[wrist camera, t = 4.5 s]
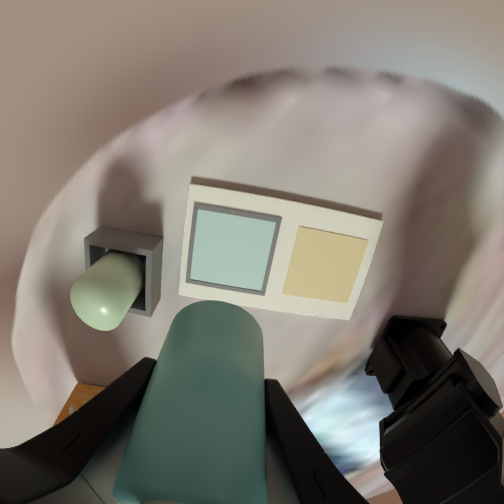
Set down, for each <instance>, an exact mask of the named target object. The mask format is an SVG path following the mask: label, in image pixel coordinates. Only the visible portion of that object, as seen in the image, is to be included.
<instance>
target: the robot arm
mask: <svg viewBox="0 0 504 504" xmlns="http://www.w3.org/2000/svg"><path fill="white" fill-rule="evenodd" d="M395 321H396V322H395ZM394 322H395V323H394ZM441 325H442V326H441ZM446 326H447V323H446V322H445V321H444V320H439V319H427V318H416V317H405V316H393V317H392V318H391V319H390V320H389V322H388V325H387V327H386V329H385V331H384V333H383V335H382V337H381V339H380V341H379V343H378V345H377V347H376V349H375V351H374V353H373V354H372V356H371V358H370V361H369V363H368V365H367V367H366V368H365V372H366V375H368V376H376V377H377V380H378V382H379V384H380V387H381V389H382V391H383V393H384V394H387V395H388V398H389V400H390V402H391V405H392V407H393V410H395V411H394V412H392V413H391V414H390V415H389V416H387V417H386V418H383V419H382V420H381V421H380V422H379V431H380V461H381V466H382V467H383V469H384V471H385V473H384V476H385V477H386V478H387V479H388V480H389V481H390V482H391V483H392V484H393V486H394V487H395V489H396V490H397V492H398V494H399V496H400V498H401V500H402V502H403V504H504V418H503V417H502V415H501V414H500V412H499V410H500V409H501V408H502V407H503V405H502V402H501V399H500V396H499V393H498V390H497V387H496V384H495V381H494V379H493V378H492V377H491V375H490V374H489V373H488V372H487V371H486V369H485V368H484V367H483V366H482V364H481V363H480V362H478V361H477V360H476V359H474V358H473V357H471V356H470V355H468V354H467V353H466V352H464V351H463V350H461V349H460V348H458V349H457V350H456V351H455V352H454V355H452V354H451V352H450V351H449V349H448V348H447V347H446V345H445V344H444V343H443V341H442V340H441V339H440V338H441V336H442V334H443V332H444V330H445V328H446ZM156 362H157V361H156V360H155V359H152V358H148V357H144V358H143V359H142V360H140V361H139V362H138V363H136V364H135V365H134V366H133V367H131V368H130V369H129V370H128V371H126V372H125V373H124V374H122V375H121V376H120V377H119V378H117V379H116V380H115V381H113V382H112V383H111V384H110V385H108V386H107V387H106V388H104V389H103V390H102V391H100V392H99V393H98V394H97V395H95V396H94V397H93V398H91V399H90V400H89V401H88V402H86V403H85V404H84V405H82V406H81V407H80V408H78V410H76V411H74V412H73V413H72V414H70V415H69V416H68V417H66V418H65V419H63V420H62V421H61V422H59V423H58V424H56V425H54V426H53V427H51V428H49V429H48V430H46V431H44V432H42V433H41V434H39V435H37V436H35V437H33V438H32V439H30V440H28V441H26V442H24V443H22V444H20V445H18V446H15V447H11V448H5V449H0V504H117V503H118V501H117V500H116V499H115V498H114V497H113V495H112V489H113V486H114V483H115V480H116V476H117V473H118V470H119V467H120V464H121V461H122V458H123V455H124V452H125V449H126V446H127V443H128V440H129V437H130V434H131V431H132V428H133V425H134V422H135V419H136V416H137V414H138V411H139V408H140V405H141V402H142V400H143V397H144V394H145V391H146V389H147V386H148V383H149V380H150V378H151V375H152V372H153V370H154V367H155V365H156ZM370 370H371V371H370ZM264 383H265V419H266V460H267V504H369V503H368V502H367V501H366V500H365V498H364V497H363V496H362V495H361V494H360V493H359V492H358V491H357V490H356V489H355V488H354V487H353V486H352V485H351V484H350V483H349V482H348V481H347V480H346V478H345V477H344V476H343V475H342V474H341V473H340V472H339V470H338V469H337V468H336V466H335V465H334V464H333V462H332V461H331V460H330V458H329V457H328V455H327V454H326V453H324V452H325V451H324V450H323V448H322V447H321V445H320V444H319V442H318V441H317V439H316V438H315V437H314V435H313V434H312V432H311V431H310V429H309V428H308V426H307V425H306V423H305V422H304V420H303V419H302V417H301V416H300V414H299V413H298V411H297V410H296V408H295V406H294V405H293V403H292V402H291V400H290V399H289V397H288V396H287V394H286V393H285V391H284V390H283V388H282V386H281V385H280V383H279V382H278V380H276V379H268V378H267V379H265V380H264Z"/></svg>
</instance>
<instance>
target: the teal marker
mask: <svg viewBox="0 0 504 504" xmlns="http://www.w3.org/2000/svg"><path fill="white" fill-rule="evenodd" d="M112 495H113V497H114V498H115V499H116V500H117V501H118V502H119V503H120V504H267V460H266V419H265V383H264V350H263V334H262V331H261V328H260V326H259V324H258V323H257V321H256V320H255V319H254V318H253V317H252V315H250V314H249V313H248V312H247V311H245V310H244V309H242V308H240V307H238V306H236V305H234V304H231V303H228V302H223V301H216V300H207V301H200V302H196V303H193V304H190V305H188V306H186V307H185V308H183V309H182V310H181V311H180V312H179V313H178V314H177V315H176V316H175V318H174V319H173V321H172V324H171V326H170V329H169V331H168V334H167V336H166V339H165V341H164V344H163V346H162V349H161V352H160V354H159V357H158V359H157V362H156V365H155V367H154V370H153V372H152V375H151V378H150V380H149V383H148V386H147V389H146V391H145V394H144V397H143V400H142V402H141V405H140V408H139V411H138V414H137V416H136V419H135V422H134V425H133V428H132V431H131V434H130V437H129V440H128V443H127V446H126V449H125V452H124V455H123V458H122V461H121V464H120V467H119V470H118V473H117V476H116V480H115V483H114V486H113V489H112Z"/></svg>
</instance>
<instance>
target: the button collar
mask: <svg viewBox="0 0 504 504" xmlns="http://www.w3.org/2000/svg"><path fill="white" fill-rule="evenodd" d="M84 246H85V264H86V271H87V270H88V269H89V268H90V267H91V266H92V265H93V264H94V263H95V262H96V261H98V260H99V259H100V258H101V257H102V256H103V255H104V254H105V248H108V249H114V250H119V251H124V252H129V253H135V254H140V255H145V256H146V288H145V292H143V291H140V293H139V294H138V296H137V297H136V299H135V300H134V302H133V304H132V305H131V307H130V308H129V310H128V311H127V312H131V313H135V314H139V315H144V316H148V317H151V316H152V314H153V312H154V310H155V308H156V306H157V305H158V303H159V301H160V288H161V266H162V249H163V238H162V237H156V236H150V235H144V234H138V233H133V232H127V231H121V230H115V229H109V228H103V227H99V228H98V229H97V230H95V231H94V232H92V233H91V234H89V235H88V236H87V237H85V238H84Z"/></svg>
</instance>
